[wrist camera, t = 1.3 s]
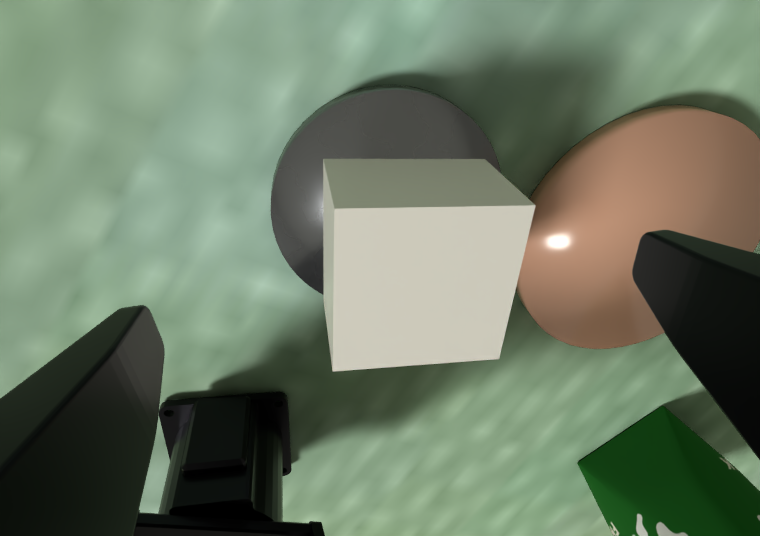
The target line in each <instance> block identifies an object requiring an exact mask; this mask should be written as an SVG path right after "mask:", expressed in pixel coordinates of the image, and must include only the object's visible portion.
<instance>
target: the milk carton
mask: <svg viewBox="0 0 760 536" xmlns="http://www.w3.org/2000/svg"><path fill="white" fill-rule="evenodd" d="M578 465H579V467H580V469H581V471H582V473H583V475H584V477H585V479H586V481H587V483H588V485H589V487H590V489H591V491H592V493H593V496H594V498H595V500H596V502H597V504H598V506H599V508H600V510H601V512H602V514H603V516H604V518H605V520H606V522H607V524H608V526H609V528H610V530H611V532H612V534H613V536H760V491H759V490H758V489H757V488H756V487H755V486H754V485H753V484H752V483H751V482H750V481H749V480H748V479H747V478H746V477H745V476H744V475H743V474H742V473H741V472H740V471H739V470H737V469H736V468H735V467H734V466H733V465H732V464H731V463H730V462H728V461H727V460H726V459H725V458H724V457H723V456H722V455H720V454H719V453H718V452H717V451H716V450H714V449H713V448H712V447H711V446H710V445H709V444H707V443H706V442H705V441H704V440H703V439H702V438H700V437H699V436H698V435H697V434H696V433H695V432H693V431H692V430H691V429H690V428H689V427H688V426H686V425H685V424H684V423H683V422H682V421H681V420H679V419H678V418H677V417H676V416H675V415H673V414H672V413H671V412H670V411H669V410H668V409H667V408H665V407H664V406H661V407H660V408H658V409H657V410H655V411H654V412H652V413H651V414H649V415H648V416H646V417H645V418H643V419H642V420H640V421H639V422H637V423H636V424H634V425H633V426H631V427H630V428H628V429H627V430H625V431H624V432H622V433H621V434H619V435H618V436H616V437H615V438H613V439H612V440H610V441H609V442H607V443H606V444H604V445H603V446H601V447H600V448H598V449H597V450H595V451H594V452H592V453H591V454H589V455H588V456H587V457H585V458H584V459H582V460H581V461H579V462H578Z"/></svg>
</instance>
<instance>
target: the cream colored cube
mask: <svg viewBox="0 0 760 536" xmlns="http://www.w3.org/2000/svg"><path fill="white" fill-rule="evenodd" d="M535 206H536V205H535V204H534V203H533V202H531V201H530V200H529V199H528V198H527V197H526V196H525V195H524V194H523V193H522V192H520V191H519V190H518V189H517V188H516V187H515V186H514V185H513V184H512V183H511V182H510V181H508V180H507V179H506V178H505V177H504V176H503V175H502V174H501V173H500V172H499V171H497V170H496V169H495V168H494V167H493V166H492V165H491V164H490V163H489V162H488V161H487V160H485V159H323V277H324V307H325V315H326V323H327V331H328V339H329V347H330V354H331V362H332V370H333V371H346V370H359V369H373V368H386V367H399V366H413V365H426V364H439V363H452V362H466V361H479V360H492V359H499V357H500V353H501V348H502V344H503V340H504V336H505V332H506V327H507V323H508V319H509V315H510V311H511V307H512V302H513V298H514V294H515V290H516V286H517V281H518V277H519V273H520V269H521V265H522V260H523V256H524V252H525V248H526V244H527V240H528V235H529V231H530V227H531V223H532V219H533V214H534V210H535Z"/></svg>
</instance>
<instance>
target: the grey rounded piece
mask: <svg viewBox="0 0 760 536" xmlns="http://www.w3.org/2000/svg"><path fill="white" fill-rule="evenodd" d="M323 159H485V160H487V161H488V162H489V163H490V164H491V165H492V166H493V167H494V168H495V169H496V170H497V171H499V172H500V167H499V163H498V160H497V157H496V154H495V152H494V150H493V147H492V145H491V143H490V141H489V140H488V138H487V137H486V135H485V134H484V132H483V131H482V129H481V128H480V127H479V126H478V125H477V124H476V123H475V122H474V121H473V119H471V118H470V117H469V116H468V115H467V114H465V113H464V112H463V111H462V110H460V109H459V108H458V107H457V106H455V105H454V104H452V103H451V102H449V101H447V100H446V99H444V98H442V97H441V96H439V95H436V94H434V93H431V92H429V91H426V90H423V89H419V88H415V87H411V86H401V85H379V86H373V87H367V88H362V89H359V90H356V91H352V92H349V93H346V94H344V95H342V96H340V97H338V98H336V99H334V100H332V101H330V102H328V103H327V104H325V105H324V106H322V107H321V108H319V109H318V110H316V111H315V112H314V113H313V114H312V115H311V116H310V117H308V118H307V119H306V120H305V121H304V122H303V123H302V124H301V126H300V127H299V128H298V129H297V130H296V131H295V132H294V134H293V135H292V137H291V138H290V140H289V141H288V143H287V144H286V146H285V148H284V150H283V152H282V154H281V156H280V158H279V161H278V164H277V167H276V170H275V173H274V178H273V184H272V191H271V218H272V226H273V231H274V234H275V238H276V241H277V244H278V246H279V248H280V250H281V252H282V255H283V256H284V258H285V259H286V261H287V263H288V264H289V266H290V267H291V268H292V269H293V270H294V272H295V273H296V274H297V275H298V276H299V277H300V278H301V279H302V280H303V281H304V282H305V283H307V284H308V285H309V286H310V287H312V288H313V289H315V290H316V291H318V292H319V293H321V294H323V295H324V277H323ZM500 173H501V172H500Z"/></svg>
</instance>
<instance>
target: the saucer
mask: <svg viewBox="0 0 760 536" xmlns="http://www.w3.org/2000/svg"><path fill="white" fill-rule="evenodd" d="M529 200H530V201H531V202H533V203H534V204H535V205H536V206H535V210H534V214H533V219H532V223H531V227H530V231H529V235H528V240H527V244H526V248H525V252H524V256H523V260H522V265H521V269H520V273H519V277H518V281H517V286H516V291H517V294H518V296H519V298H520V300H521V302H522V303H523V305H524V306H525V308H526V309H527V310H528V312H529V313H530V315H531V316H532V317H533V318H534V320H535V321H536V322H537V324H538V325H539V326H540V327H541V328H542V329H543V330H544V331H546V332H547V333H548V334H549V335H551V336H553V337H554V338H556V339H557V340H559V341H562V342H564V343H567V344H569V345H573V346H578V347H582V348H592V349H608V348H616V347H623V346H627V345H632V344H636V343H639V342H642V341H645V340H648V339H651V338H653V337H656V336H658V335H660V334H663V333H665V332H664V330H663V329H662V327H661V325H660V324H659V322H658V320H657V319H656V317H655V315H654V314H653V312H652V310H651V309H650V307H649V306H648V304H647V302H646V301H645V299H644V297H643V296H642V294H641V292H640V291H639V289H638V287H637V286H636V284H635V282H634V280H633V276H632V268H633V264H634V260H635V257H636V253H637V249H638V245H639V241H640V238H641V237H642V236H643V234H645V233H646V232H651V231H658V230H671V231H675V232H679V233H682V234H686V235H690V236H694V237H697V238H701V239H705V240H709V241H712V242H716V243H720V244H723V245H727V246H731V247H735V248H738V249H742V250H746V251H749V252H754V250H755V248H756V246H757V245H758V243H759V241H760V139H759V138H758V137H757V135H756V134H755V133H754V132H753V131H752V130H750V129H749V128H748V127H747V126H745V125H744V124H743V123H741V122H739V121H737V120H735V119H733V118H731V117H728V116H725V115H722V114H719V113H715V112H712V111H709V110H706V109H702V108H698V107H694V106H685V105H668V106H658V107H653V108H648V109H643V110H640V111H637V112H634V113H631V114H628V115H625V116H623V117H621V118H619V119H617V120H614V121H612V122H610V123H608V124H606V125H605V126H603V127H601V128H600V129H598V130H596V131H595V132H593V133H591V134H590V135H588V136H587V137H586V138H584V139H583V140H582V141H580V142H579V143H578V144H576V145H575V146H574V147H573V148H572V149H570V150H569V151H568V152H567V153H566V154H565V155H564V156H563V157H562V158H561V159H560V160H559V161H558V162H557V163H556V164H555V165H554V166H553V167H552V169H551V170H550V171H549V172H548V173H547V174H546V175H545V177H544V178H543V179H542V181H541V182H540V184H539V185H538V186H537V188H536V189H535V191H534V192H533V194H532V196H531V198H530V199H529Z"/></svg>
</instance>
